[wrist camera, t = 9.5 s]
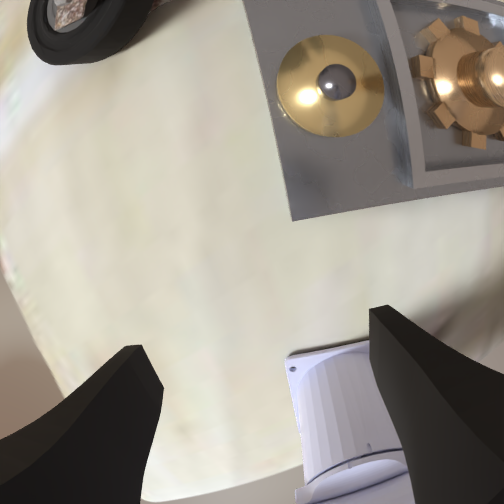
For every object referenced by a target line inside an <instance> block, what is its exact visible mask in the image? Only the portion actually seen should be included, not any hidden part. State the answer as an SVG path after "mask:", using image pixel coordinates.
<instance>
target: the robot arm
mask: <svg viewBox="0 0 504 504" xmlns="http://www.w3.org/2000/svg"><path fill="white" fill-rule="evenodd" d="M290 367H295V368H290ZM285 368H286V373H287V377H288V382H289V387H290V392H291V396H292V401H293V406H294V411H295V416H296V420H297V425H298V430H299V433H300V434H301V443H302V454H303V466H304V477H305V486H303V487H301V488H297V489H296V490H295V499H296V503H295V504H504V374H502V373H500V372H497V371H495V370H492V369H490V368H488V367H486V366H484V365H482V364H480V363H478V362H476V361H474V360H472V359H470V358H468V357H466V356H464V355H462V354H461V353H459V352H457V351H456V350H454V349H452V348H451V347H449V346H447V345H446V344H444V343H443V342H441V341H439V340H438V339H436V338H435V337H433V336H432V335H430V334H429V333H427V332H426V331H424V330H423V329H421V328H420V327H419V326H417V325H416V324H414V323H413V322H412V321H410V320H409V319H407V318H406V317H405V316H403V315H402V314H401V313H399V312H398V311H396V310H395V309H394V308H392V307H391V306H389V305H384V306H380V307H376V308H371V309H369V340H367V341H362V342H358V343H353V344H349V345H344V346H339V347H335V348H330V349H325V350H319V351H314V352H309V353H303V354H297V355H292V356H288V357H287V358H286V359H285ZM163 391H164V387H163V385H162V383H161V381H160V380H159V378H158V376H157V374H156V372H155V370H154V368H153V366H152V364H151V363H150V361H149V359H148V357H147V355H146V353H145V351H144V349H143V347H142V345H130V346H125V347H124V348H123V349H121V350H120V351H119V352H117V353H116V354H115V355H114V356H113V357H112V358H111V359H109V360H108V361H107V362H106V363H105V364H104V365H103V366H102V367H101V368H99V369H98V370H97V371H96V372H95V373H94V374H93V375H92V376H91V377H90V378H88V379H87V380H86V381H85V382H84V383H83V384H82V385H81V386H79V387H78V388H77V389H76V390H75V391H74V392H72V393H71V394H70V395H69V396H68V397H66V398H65V399H64V400H63V401H62V402H61V403H59V404H58V405H57V406H55V407H54V408H53V409H52V410H50V411H49V412H47V413H46V414H44V415H43V416H41V417H40V418H39V419H37V420H35V421H34V422H32V423H31V424H29V425H27V426H25V427H24V428H22V429H20V430H18V431H17V432H15V433H13V434H11V435H9V436H7V437H5V438H3V439H1V440H0V504H140V498H141V490H142V483H143V476H144V471H145V467H146V463H147V460H148V456H149V452H150V449H151V445H152V442H153V438H154V435H155V431H156V428H157V424H158V421H159V417H160V413H161V407H162V400H163Z"/></svg>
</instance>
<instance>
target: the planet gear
mask: <svg viewBox="0 0 504 504" xmlns="http://www.w3.org/2000/svg"><path fill="white" fill-rule="evenodd" d="M454 24H455V28H453V29H450V30H449V29H448V28H447V27H446V26H445V25H444V23H443V22H442V21H441V20H440V19H439V18H438V19H436V20H434V21H432V22H430V23H429V24H428V25H427V26H425V27H424V28H423V29H422V30H421V31H420V33H421V34H422V35H423V36H424V37H425V38H426V39H427V40H428V42H429V43H430V44H429V46H428V48H427V50H426V54H425V56H423V55H417V56H414V57H412V58H411V64H412V78H414V79H420V80H425V81H426V84H427V87H428V90H429V93H430V95H431V98H432V100H433V102H434V103H433V104H432V105H431V106H430V107H429V108H428V109H427V110H426V111H425V112H426V113H427V115H428V116H429V117H430V119H431V120H432V121H433V123H434V124H435V126H436V127H437V128H438V129H448V128H449V127H450V125H451V124H452V125H453V126H454V127H456V128H458V129H459V130H461V131H462V146H468V147H473V148H479V149H484V150H486V135H491V134H493V135H494V136H495V138H496V140H499V141H504V46H503V44H502V43H501V41H497V42H493V43H491V42H490V41H489V40H488V39H486V38H485V37H484V36H482V35H481V34H480V33H479V27H478V21H475V20H473V19H470V18H468V17H465V16H463V15H462V16H460V17H457V18H455V19H454Z"/></svg>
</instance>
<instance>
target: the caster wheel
mask: <svg viewBox="0 0 504 504" xmlns="http://www.w3.org/2000/svg"><path fill="white" fill-rule="evenodd" d="M169 1H171V0H31V2H30V6H29V11H28V17H27V31H28V38H29V41H30V44H31V47H32V49H33V50H34V52H35V53H36V55H37V56H38V57H39V58H40V59H41V60H43V61H44V62H46V63H48V64H51V65H70V64H84V63H93V62H98V61H101V60H103V59H106V58H107V57H109V56H111V55H113V54H114V53H115V52H117V51H118V50H120V49H121V48H122V47H123V46H124V45H126V44H127V43H128V42H129V41H130V40H131V39H132V37H133V36H134V35H135V34H136V32H137V31H138V30H139V28H140V27H141V26H142V24H143V23H144V21H145V20H146V18H147V16H148V14H149V12H151V11H153V10H155V9H156V8H157V7H158V6H160V5H163V4H165V3H167V2H169Z"/></svg>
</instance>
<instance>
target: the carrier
mask: <svg viewBox="0 0 504 504" xmlns="http://www.w3.org/2000/svg"><path fill="white" fill-rule="evenodd" d="M242 1H243V5H244V8H245V12H246V16H247V20H248V24H249V27H250V31H251V35H252V39H253V43H254V47H255V51H256V55H257V59H258V64H259V68H260V72H261V76H262V80H263V85H264V89H265V93H266V98H267V102H268V107H269V111H270V116H271V120H272V125H273V130H274V134H275V139H276V144H277V149H278V153H279V158H280V163H281V168H282V173H283V178H284V183H285V189H286V194H287V199H288V204H289V210H290V215H291V219H292V221H297V220H303V219H308V218H314V217H319V216H325V215H330V214H336V213H341V212H347V211H353V210H358V209H364V208H370V207H375V206H381V205H387V204H393V203H399V202H405V201H411V200H417V199H423V198H429V197H436V196H442V195H448V194H455V193H461V192H468V191H474V190H481V189H488V188H494V187H501V186H504V141H499V140H496V138H495V136H494V135H493V134H491V135H486V150H484V149H479V148H473V147H468V146H462V131H461V130H459V129H458V128H456V127H454V126H453V125H452V124H451V125H450V127H449V128H448V129H438V128H437V127H436V126H435V124H434V123H433V121H432V120H431V119H430V117H429V116H428V115H427V113H426V112H425V111H426V110H427V109H428V108H429V107H430V106H431V105H432V104H433V103H434V102H433V100H432V98H431V95H430V93H429V90H428V87H427V84H426V81H425V80H420V79H414V78H412V64H411V58H412V57H414V56H417V55H423V56H425V54H426V50H427V48H428V46H429V44H430V43H429V42H428V40H427V39H426V38H425V37H424V36H423V35H422V34H421V33H420V31H421V30H422V29H423V28H424V27H425V26H427V25H428V24H429V23H430V22H432V21H434V20H436V19H438V18H439V19H440V20H441V21H442V22H443V23H444V25H445V26H446V27H447V28H448V29H449V30H450V29H453V28H455V24H454V19H455V18H457V17H460V16H462V15H463V16H465V17H468V18H470V19H473V20H475V21H478V27H479V33H480V34H481V35H482V36H484V37H485V38H486V39H488V40H489V41H490V42H491V43H493V42H497V41H501V43H502V44H503V46H504V3H503V2H500V1H497V0H242Z"/></svg>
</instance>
